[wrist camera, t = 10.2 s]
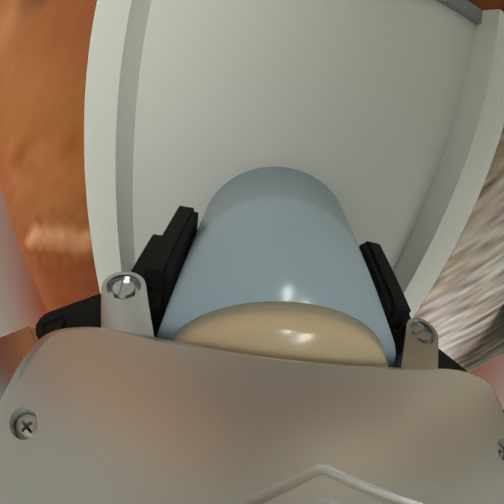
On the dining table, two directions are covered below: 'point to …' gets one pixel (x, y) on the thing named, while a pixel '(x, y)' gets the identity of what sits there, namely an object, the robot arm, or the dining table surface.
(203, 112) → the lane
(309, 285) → the glazed jar
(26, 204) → the dining table surface
